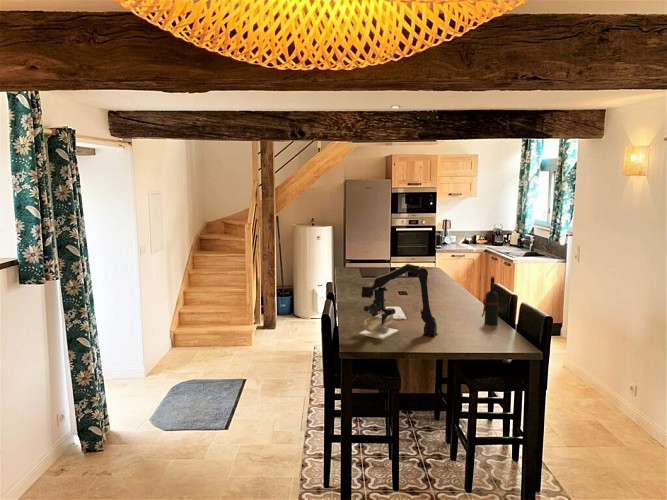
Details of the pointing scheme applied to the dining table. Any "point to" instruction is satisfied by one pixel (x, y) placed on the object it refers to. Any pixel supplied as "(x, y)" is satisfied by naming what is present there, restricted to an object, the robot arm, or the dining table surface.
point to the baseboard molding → (398, 313)
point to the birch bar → (377, 322)
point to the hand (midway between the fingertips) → (379, 324)
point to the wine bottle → (491, 305)
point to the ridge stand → (380, 333)
